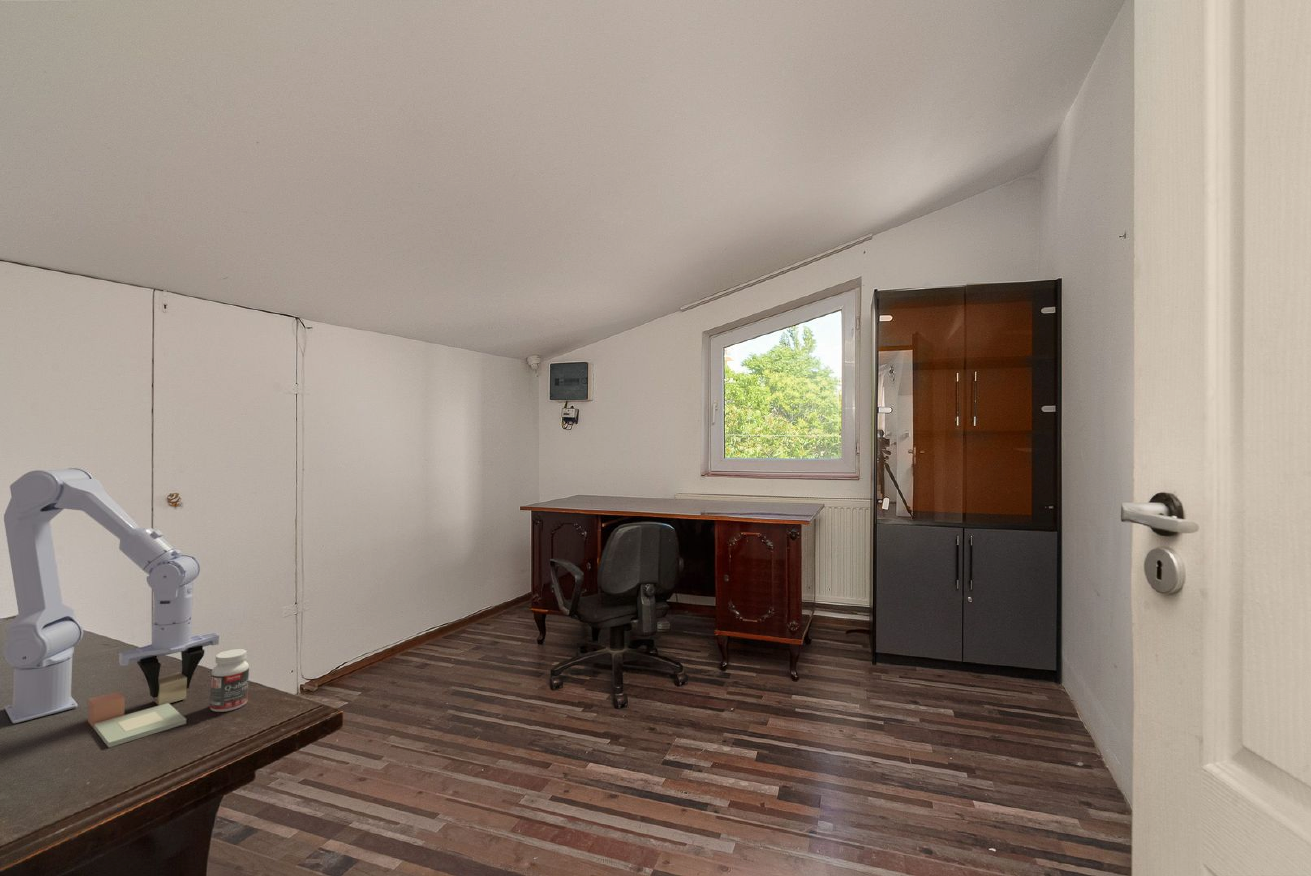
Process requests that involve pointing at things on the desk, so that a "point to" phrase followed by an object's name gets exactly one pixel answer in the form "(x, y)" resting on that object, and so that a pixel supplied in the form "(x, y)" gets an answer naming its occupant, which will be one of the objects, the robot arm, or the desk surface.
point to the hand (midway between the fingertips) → (169, 691)
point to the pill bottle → (229, 681)
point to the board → (138, 724)
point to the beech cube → (171, 688)
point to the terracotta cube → (105, 707)
